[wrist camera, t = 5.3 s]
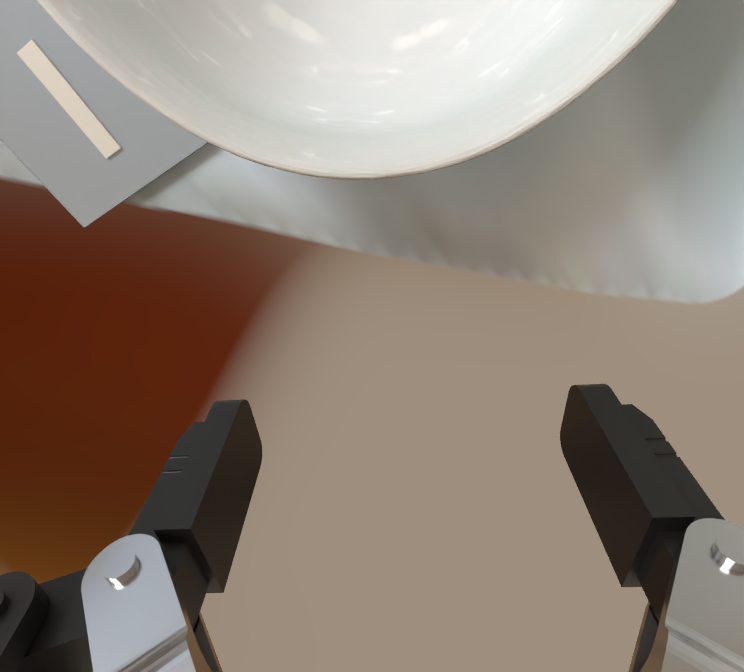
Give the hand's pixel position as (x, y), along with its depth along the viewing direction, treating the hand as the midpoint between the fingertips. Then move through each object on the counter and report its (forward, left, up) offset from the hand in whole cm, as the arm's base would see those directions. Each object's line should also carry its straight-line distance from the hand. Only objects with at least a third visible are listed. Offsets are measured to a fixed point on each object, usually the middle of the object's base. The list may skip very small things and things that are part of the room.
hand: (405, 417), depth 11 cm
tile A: (-8, +11, -10) cm, 17 cm away
